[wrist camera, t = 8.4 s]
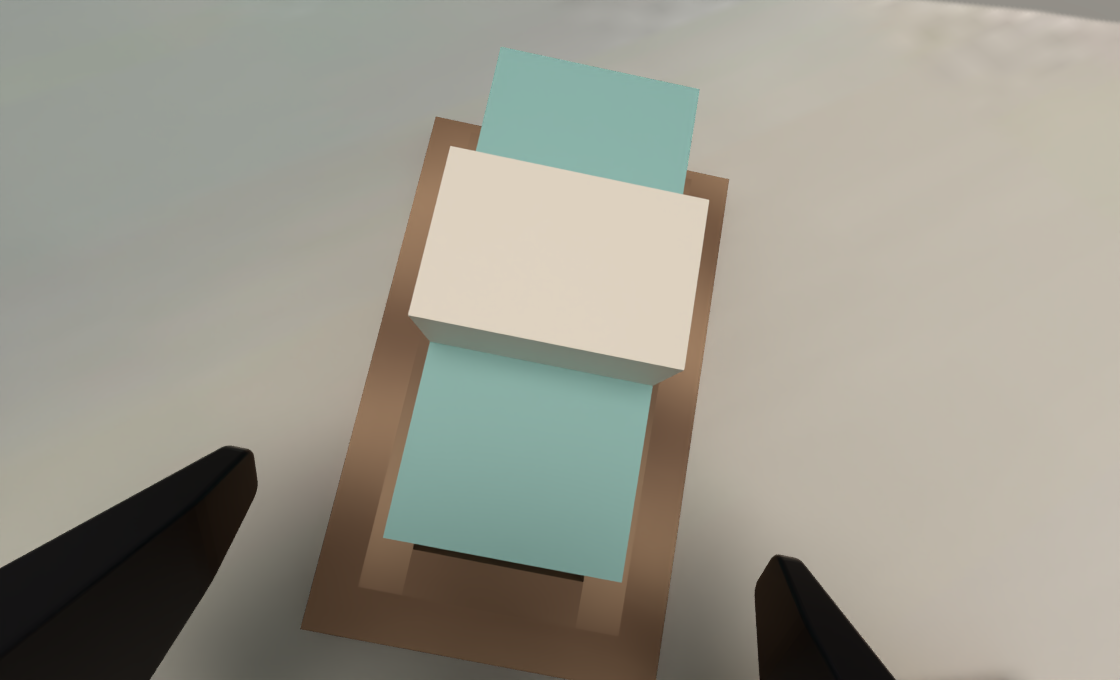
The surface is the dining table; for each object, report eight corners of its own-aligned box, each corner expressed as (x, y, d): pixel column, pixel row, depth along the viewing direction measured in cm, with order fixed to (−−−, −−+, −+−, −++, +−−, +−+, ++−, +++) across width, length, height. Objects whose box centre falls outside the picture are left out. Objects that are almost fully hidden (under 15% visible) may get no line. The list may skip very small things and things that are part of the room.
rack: (647, 684, 17) (689, 761, 13) (310, 620, 17) (239, 678, 12) (720, 189, 20) (774, 120, 16) (439, 129, 20) (417, 43, 16)
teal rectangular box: (563, 506, 17) (647, 616, 6) (463, 487, 17) (346, 560, 6) (604, 282, 18) (736, 13, 7) (511, 263, 18) (497, -39, 7)
